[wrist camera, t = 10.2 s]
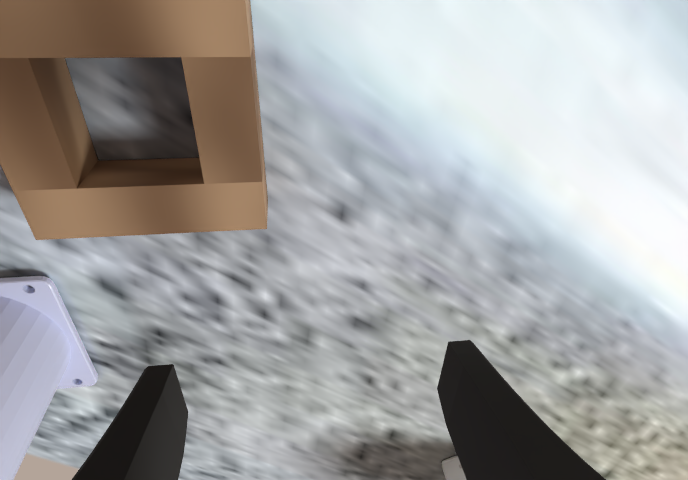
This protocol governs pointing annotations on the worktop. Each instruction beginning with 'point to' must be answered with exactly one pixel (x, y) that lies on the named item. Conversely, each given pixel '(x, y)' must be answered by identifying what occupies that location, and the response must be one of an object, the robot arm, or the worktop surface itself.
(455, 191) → the worktop surface
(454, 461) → the skincare box
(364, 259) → the worktop surface
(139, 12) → the socket block
